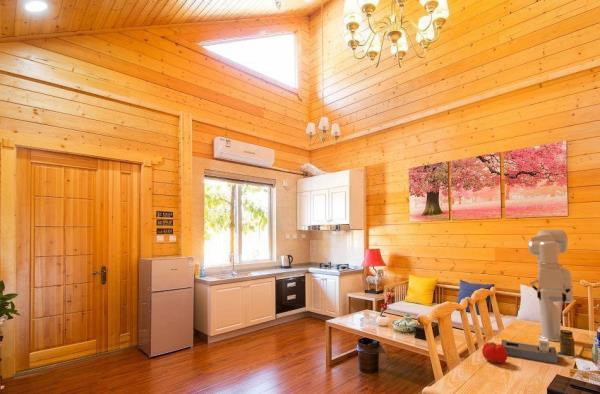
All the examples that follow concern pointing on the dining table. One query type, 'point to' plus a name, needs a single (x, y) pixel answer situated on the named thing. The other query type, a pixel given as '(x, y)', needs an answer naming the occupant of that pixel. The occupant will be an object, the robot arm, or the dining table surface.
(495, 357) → the tomato
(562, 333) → the condiment
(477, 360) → the dining table surface
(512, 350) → the panel
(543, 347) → the plug
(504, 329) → the dining table surface
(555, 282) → the robot arm
